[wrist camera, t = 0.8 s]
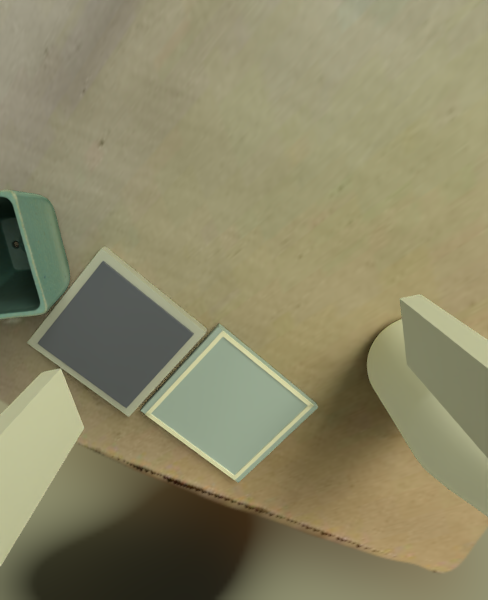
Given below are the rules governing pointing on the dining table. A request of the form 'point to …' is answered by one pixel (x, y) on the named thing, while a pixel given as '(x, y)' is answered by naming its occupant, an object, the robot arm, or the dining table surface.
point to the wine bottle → (426, 421)
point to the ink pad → (116, 332)
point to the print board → (228, 404)
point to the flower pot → (30, 255)
